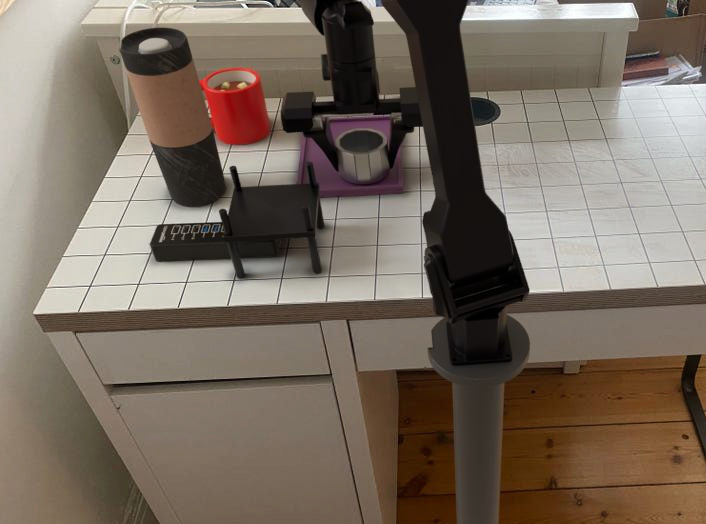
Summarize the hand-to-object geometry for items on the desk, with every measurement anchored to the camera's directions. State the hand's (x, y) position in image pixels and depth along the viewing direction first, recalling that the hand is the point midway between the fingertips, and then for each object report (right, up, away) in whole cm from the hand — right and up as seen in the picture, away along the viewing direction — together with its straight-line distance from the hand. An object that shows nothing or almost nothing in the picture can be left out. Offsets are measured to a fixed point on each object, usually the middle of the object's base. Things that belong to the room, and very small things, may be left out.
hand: (364, 168), depth 101 cm
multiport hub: (-16, -12, -10) cm, 23 cm away
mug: (-21, +8, +10) cm, 25 cm away
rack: (-8, -13, -11) cm, 18 cm away
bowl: (0, 0, 0) cm, 0 cm away
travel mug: (-22, -4, -2) cm, 22 cm away
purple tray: (-3, +3, +4) cm, 6 cm away
